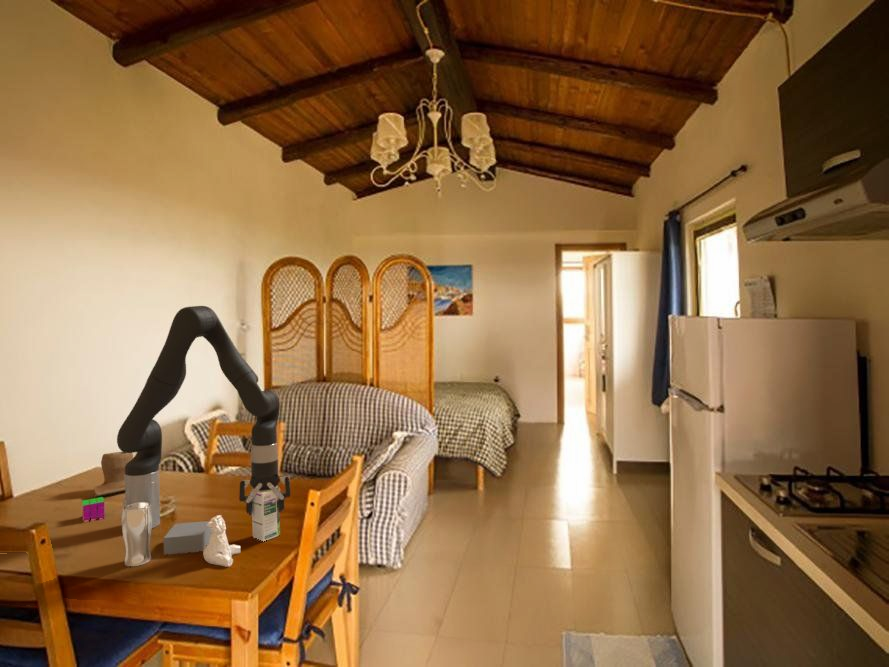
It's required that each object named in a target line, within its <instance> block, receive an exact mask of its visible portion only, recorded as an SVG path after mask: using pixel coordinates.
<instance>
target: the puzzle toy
mask: <svg viewBox="0 0 889 667" xmlns="http://www.w3.org/2000/svg"><path fill="white" fill-rule="evenodd" d="M81 509H82V510H81V511H82V516H83V518H82V522H83V521H85V520H90V518H91V519H97V520H98V518H104V517H105V516H106V515H105V500H104V497H103V496H99V497H96V498H95V497H94V498H91V499H84V500H81ZM97 516H98V518H97ZM90 521H91V520H90Z"/></svg>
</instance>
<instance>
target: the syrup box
mask: <svg viewBox="0 0 889 667" xmlns="http://www.w3.org/2000/svg"><path fill="white" fill-rule="evenodd" d="M276 488H277V487H276ZM279 488H280V487H279ZM279 488H277V489H278V490H279ZM253 490H254V489H253V488H252V489H251V491H250V493H251V492H252V491H253ZM275 491H276V490H275ZM254 493H255V492H254ZM280 514H281V513H280V512H279V497H278V496H277V495H276V494H275V493H274V492H273V491H272V490H271V489H269V490H259V491H258V492H257V493H256V495H255V496H254V497H253V498H252V515H251V516H252V517H251V518H252V523H251V524H252V538H253V539H255V538H257V539H256V540H258V539H259V540H258V541H260V540H261V541H260V542H262V541H263V543H264V541H265V542H266V540H267V541H269V540H272V539H274V538H277V537H279V535H280V536H281V525H280V524H281V520H280Z"/></svg>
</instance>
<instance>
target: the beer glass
mask: <svg viewBox="0 0 889 667" xmlns="http://www.w3.org/2000/svg"><path fill="white" fill-rule="evenodd" d="M121 512H122V513H121V530H122V537H123V540H124V545H125V551H126V552H125V558H124V565H125V566H126V567H130V566H131V567H138V566H141V565H144V564H147V563H149V562H150V561H151V560H152V556H151V550H150V540H151V534H152V529H153V528H152V511H151V503H150V502H135V503H131V504H128V505H126V506H124V507H123V506H122V511H121Z"/></svg>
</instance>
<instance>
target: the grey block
mask: <svg viewBox="0 0 889 667" xmlns="http://www.w3.org/2000/svg"><path fill="white" fill-rule="evenodd" d="M209 521H210V520H206V521H205V520H204V521H195V522H194V521H193V522H182V523H175V524H174V525H172V527H171V528H170V529H169V531H168V532H167V533H166V534H165V536H164V537H163V555H164V556H165V555H166V554H168V555H177V554H178V553H179V554H187V553H188V552H191V553H199V551H202V552H204V549H205V548H206V547H207V546H206V545H208V541H209V537H210V535H212V532H211V531H210V529H209V527H208V526H207V523H209ZM188 554H189V553H188Z"/></svg>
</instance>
